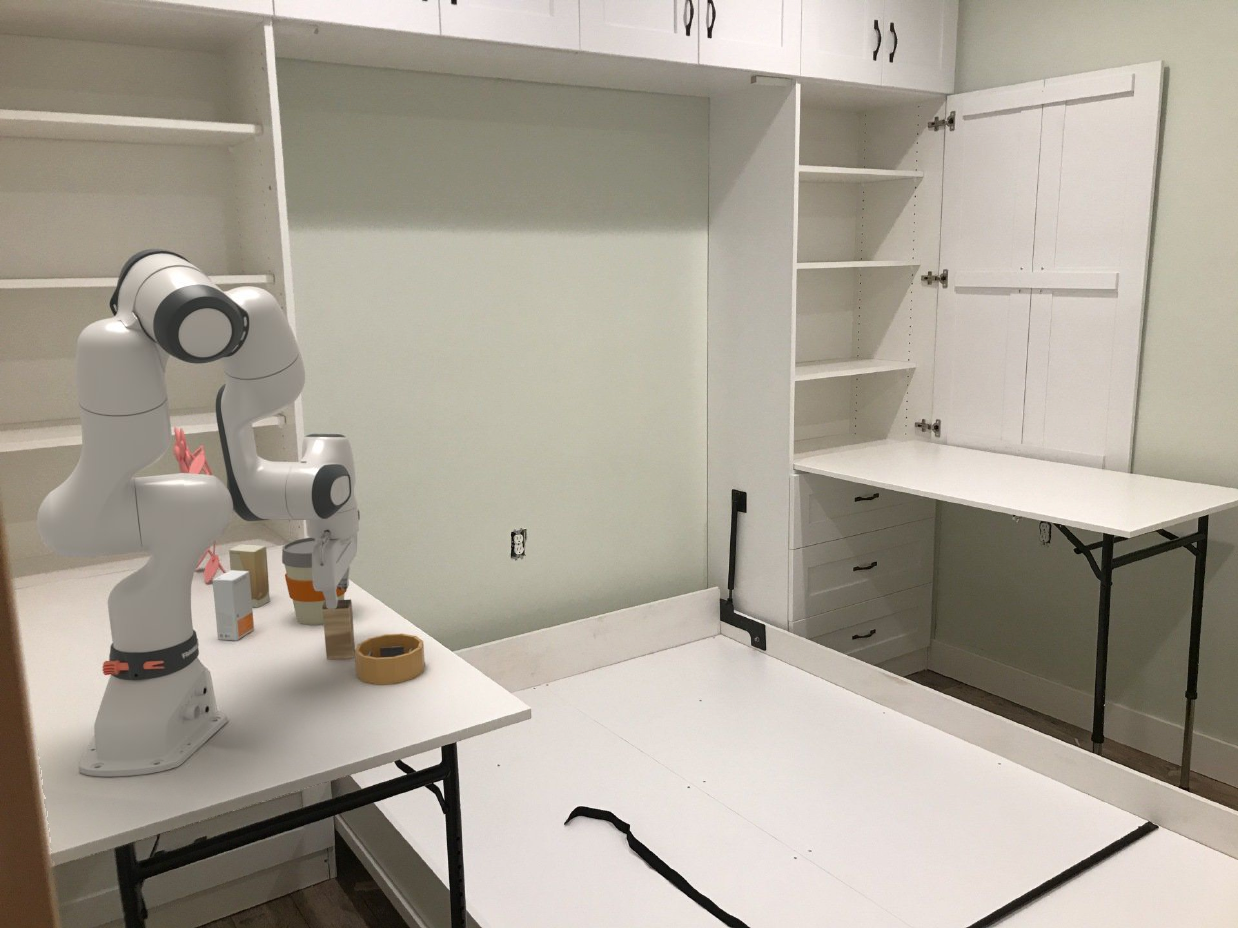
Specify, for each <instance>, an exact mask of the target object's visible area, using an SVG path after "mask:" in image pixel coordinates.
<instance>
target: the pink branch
mask: <svg viewBox="0 0 1238 928" xmlns="http://www.w3.org/2000/svg"><path fill="white" fill-rule="evenodd" d="M173 431H174V432H173V433H174V436H175V437H174V438H175V441H174V444H173V445H174V447H173V455H174V457H175V460H176V461H177V463H178V466H179V471H180V473H191V474H202V473H201V472H204V473H205V475H213V473H212V471H211V469H210V465H209V463H208V461H207V458H206V454H205V450H204V449H205V447H204V446H203V445H200V446H199V448H197V449H196V450H195V451H194V452H193V453H191V450H190V448H189V446H188V445H187V438H186V434H185V431H184V430H183V428H181V427H180V429H178V427H177V426H174V430H173ZM204 466H205V467H204ZM216 541H217V540H216ZM216 541H215V542H214V543H213V550H212V551H211V550H210V549H211V546H212V545H211V546H210V547H209V548H208V549H207V550H206V552H205V553H204V554H203V556H202V557H201V559H200V561H199V563H198V565H197V567H196V569H197V568H198V567H200V565H201V563H202V562H203V561H204V559H205V558H206V556H207V554H209V555H210V557H209V559H208V560H207V562H206V564H205V567H204V572H203V573H204V581H205V584H209V583H210V582H211V581H212V580H213V578H214V577H215V575H216V574H217V572H218V571H219V569H220V570H221V572H222V574H224V573H227V572H226V570H225V569H224V567H223V566H222V565H221V563H220V561H221V559H220V557H219V555H218V554H216V552H215V551H216Z"/></svg>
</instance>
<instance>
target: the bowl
mask: <svg viewBox="0 0 1238 928" xmlns="http://www.w3.org/2000/svg"><path fill="white" fill-rule="evenodd" d="M394 646H404V654H403V655H399V656H395V657H382V658H381V654H380V647H394ZM424 647H425V646H424V640H422V638H420V637H418V636H417V635H413V634H409V633H408V634H406V633H388V634H386V633H385V634H382V635H378V636H374V637H373V636H372V637H369V638H367V639H365V640H363V641H361V642H360V643H357V646H355V653H354V659H355V672H356V677H358V679H359V680H361V681H362V682H365V683H369V684H373V685H392V684H398V683H403V682H406V681H410V680H412V679H414V678H416V677H417V676H419V675H421V674H422V673H423V672H424V669H425V667H426V666H425V665H426V663H425V648H424ZM410 648H412V651H411V652H409V650H410ZM370 650H372V656H373V657H370V656H368V653H369V651H370Z"/></svg>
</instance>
